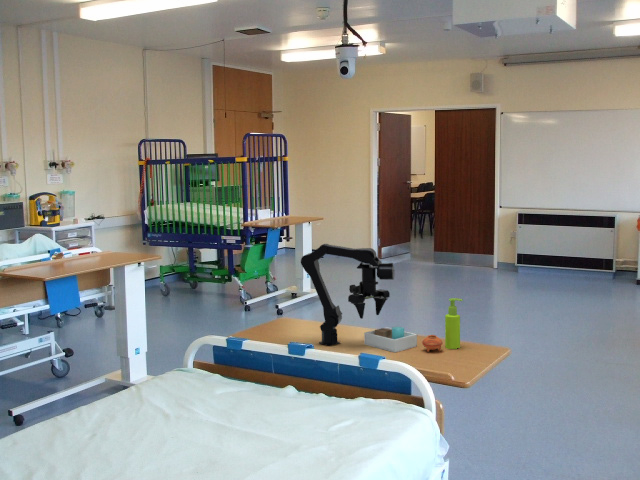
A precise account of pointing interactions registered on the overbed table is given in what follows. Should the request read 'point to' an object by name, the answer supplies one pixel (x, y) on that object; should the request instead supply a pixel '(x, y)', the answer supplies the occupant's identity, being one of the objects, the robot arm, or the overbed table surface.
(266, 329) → the overbed table surface
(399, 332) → the teal cylinder
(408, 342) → the tote
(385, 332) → the walnut cube
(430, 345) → the pot
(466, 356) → the overbed table surface
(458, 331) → the soap dispenser
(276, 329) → the overbed table surface
